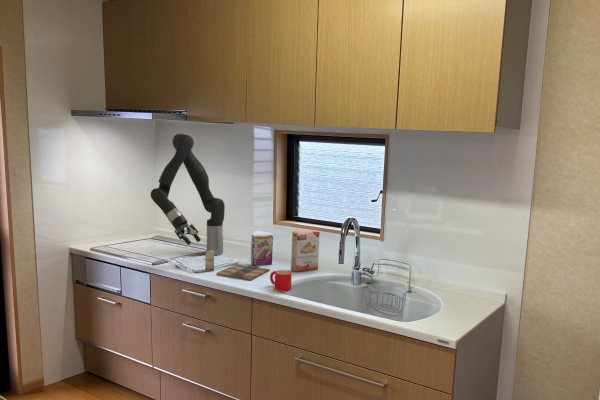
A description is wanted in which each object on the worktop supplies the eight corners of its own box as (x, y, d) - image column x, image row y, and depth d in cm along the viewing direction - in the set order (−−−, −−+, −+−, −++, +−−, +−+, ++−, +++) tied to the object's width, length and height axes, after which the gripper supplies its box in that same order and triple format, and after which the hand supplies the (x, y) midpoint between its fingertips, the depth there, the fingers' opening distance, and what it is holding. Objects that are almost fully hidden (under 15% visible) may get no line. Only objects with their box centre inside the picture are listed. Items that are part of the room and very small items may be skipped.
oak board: (236, 266, 288) (236, 263, 288) (269, 271, 280) (269, 268, 280) (216, 275, 270) (216, 272, 270) (251, 280, 262) (251, 278, 262)
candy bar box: (252, 266, 289) (253, 236, 287) (250, 263, 294) (251, 234, 291) (272, 264, 293) (273, 235, 290) (270, 262, 297) (270, 233, 295)
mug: (274, 283, 259) (275, 267, 258) (294, 288, 252) (295, 272, 251) (264, 287, 253) (264, 270, 252) (284, 292, 246) (284, 275, 245)
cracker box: (296, 272, 279) (297, 233, 276) (290, 269, 284) (291, 231, 281) (318, 269, 286) (320, 231, 283) (312, 266, 291) (314, 229, 288)
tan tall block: (208, 268, 281) (208, 250, 280) (215, 269, 280) (215, 251, 278) (203, 270, 277) (203, 252, 276) (210, 271, 276) (210, 253, 274)
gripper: (172, 216, 275) (190, 240, 272) (188, 212, 288) (206, 235, 285) (164, 225, 278) (182, 249, 275) (180, 221, 291) (198, 244, 288)
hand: (194, 242), depth 280 cm, fingers open, 8 cm apart
